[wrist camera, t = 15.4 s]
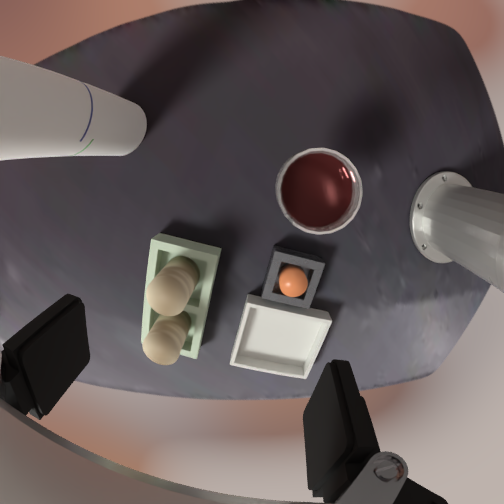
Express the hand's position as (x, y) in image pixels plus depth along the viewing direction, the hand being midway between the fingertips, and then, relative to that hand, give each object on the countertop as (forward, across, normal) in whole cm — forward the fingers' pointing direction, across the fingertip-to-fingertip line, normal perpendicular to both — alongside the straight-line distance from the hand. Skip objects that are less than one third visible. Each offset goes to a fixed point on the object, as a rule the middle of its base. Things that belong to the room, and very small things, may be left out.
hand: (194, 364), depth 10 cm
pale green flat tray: (+25, +7, +11) cm, 28 cm away
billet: (+24, +7, +15) cm, 29 cm away
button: (+25, -6, +5) cm, 26 cm away
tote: (+26, -7, +14) cm, 30 cm away
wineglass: (+26, -5, -6) cm, 27 cm away
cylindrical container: (+25, +18, -9) cm, 32 cm away
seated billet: (+24, +7, +8) cm, 26 cm away
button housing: (+26, -6, +5) cm, 27 cm away
